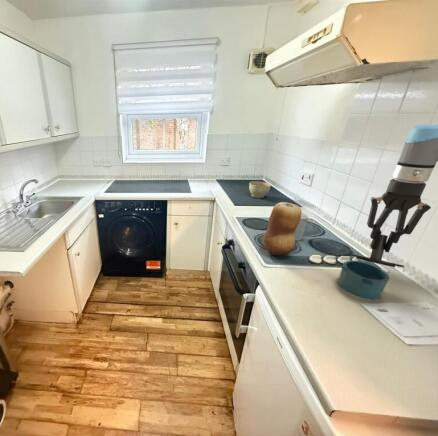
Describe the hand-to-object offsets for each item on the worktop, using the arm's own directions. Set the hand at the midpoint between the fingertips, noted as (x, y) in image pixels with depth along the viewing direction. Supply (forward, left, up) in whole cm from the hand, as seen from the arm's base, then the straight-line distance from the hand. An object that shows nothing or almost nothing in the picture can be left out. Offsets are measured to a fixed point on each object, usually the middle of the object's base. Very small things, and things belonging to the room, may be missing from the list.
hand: (379, 248), depth 80 cm
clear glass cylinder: (+25, -40, -19) cm, 51 cm away
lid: (0, +1, -4) cm, 4 cm away
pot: (0, -4, -19) cm, 20 cm away
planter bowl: (+56, -105, -19) cm, 120 cm away
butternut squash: (+30, -15, -19) cm, 39 cm away
